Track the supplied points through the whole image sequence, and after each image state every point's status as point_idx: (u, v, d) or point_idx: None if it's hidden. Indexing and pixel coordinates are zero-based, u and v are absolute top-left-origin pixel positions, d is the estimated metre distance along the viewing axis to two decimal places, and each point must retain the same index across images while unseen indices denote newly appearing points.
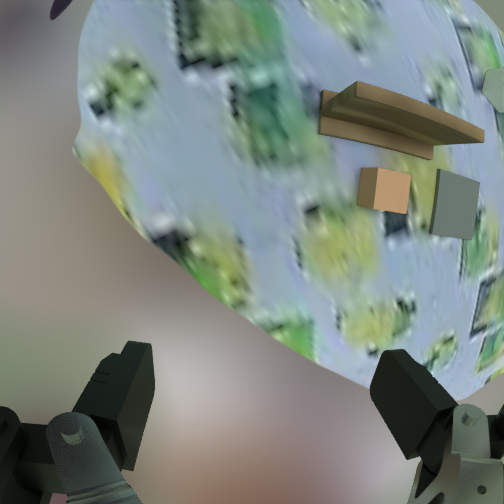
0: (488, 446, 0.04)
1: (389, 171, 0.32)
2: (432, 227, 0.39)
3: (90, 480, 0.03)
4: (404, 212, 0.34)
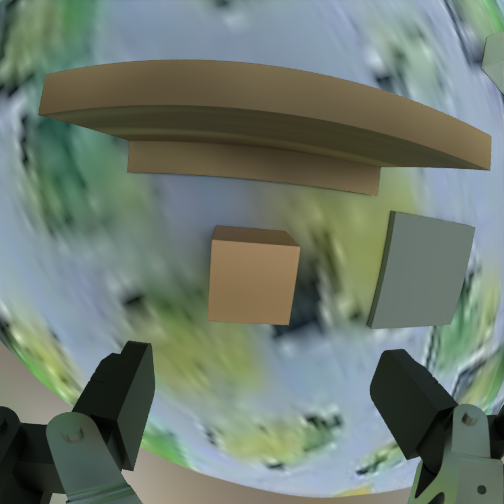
0: (488, 446, 0.04)
1: (241, 245, 0.17)
2: (372, 317, 0.23)
3: (90, 480, 0.03)
4: (284, 322, 0.18)
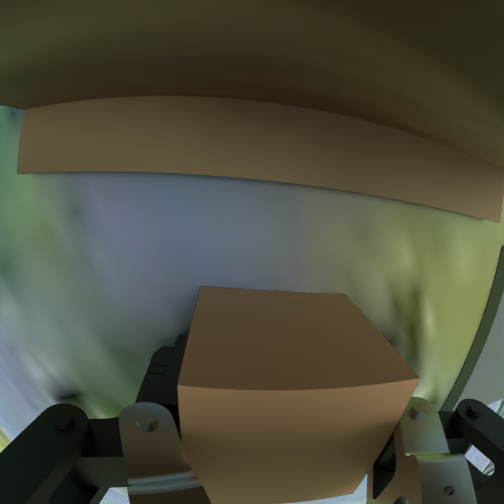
0: (433, 443, 0.05)
1: (269, 396, 0.05)
2: (451, 405, 0.12)
3: (156, 468, 0.04)
4: (345, 493, 0.06)
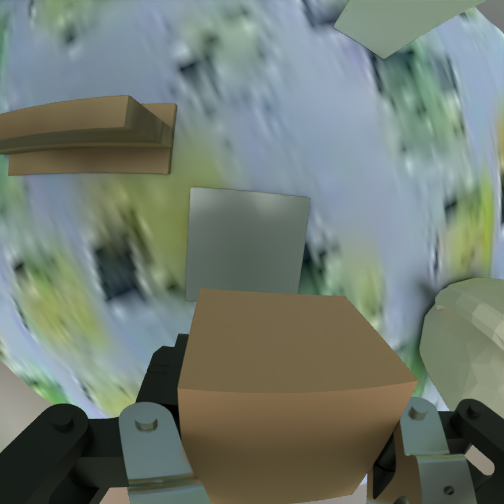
0: (433, 443, 0.05)
1: (269, 399, 0.05)
2: (186, 289, 0.26)
3: (156, 468, 0.04)
4: (345, 494, 0.06)
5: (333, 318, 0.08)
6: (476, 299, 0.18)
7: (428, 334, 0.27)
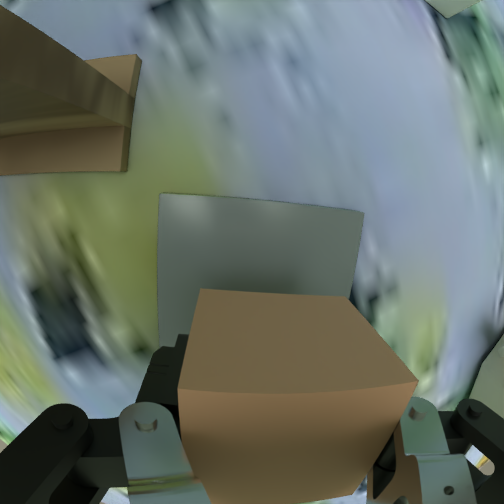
0: (433, 443, 0.05)
1: (269, 399, 0.05)
2: None
3: (156, 468, 0.04)
4: (344, 494, 0.06)
5: (333, 318, 0.08)
6: None
7: (486, 388, 0.17)
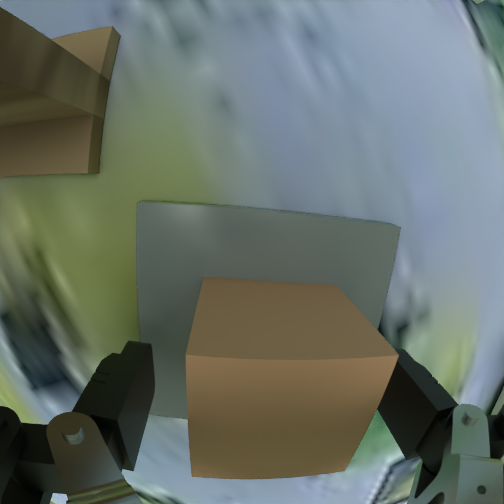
0: (488, 446, 0.04)
1: (264, 365, 0.06)
2: None
3: (90, 480, 0.03)
4: (337, 469, 0.07)
5: (324, 302, 0.09)
6: None
7: None
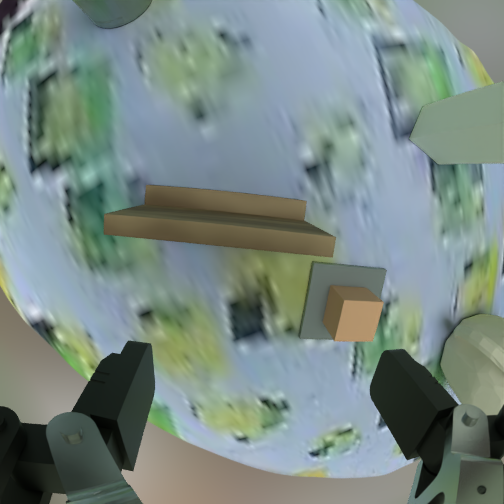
0: (488, 446, 0.04)
1: (357, 302, 0.30)
2: (301, 331, 0.36)
3: (90, 480, 0.03)
4: (370, 340, 0.32)
5: (364, 292, 0.34)
6: (481, 334, 0.28)
7: (448, 354, 0.37)
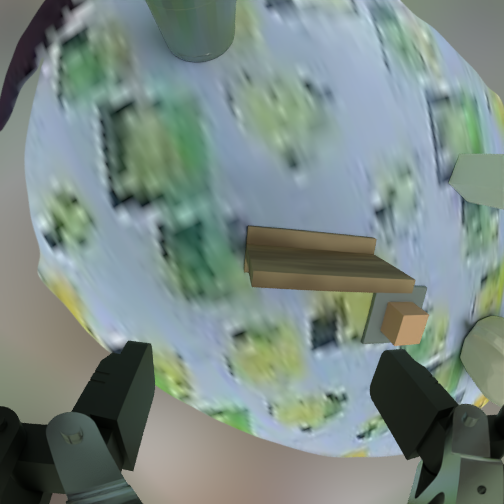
0: (488, 446, 0.04)
1: (412, 316, 0.37)
2: (364, 338, 0.44)
3: (90, 480, 0.03)
4: (418, 342, 0.39)
5: (413, 306, 0.41)
6: (495, 334, 0.36)
7: (467, 349, 0.45)
